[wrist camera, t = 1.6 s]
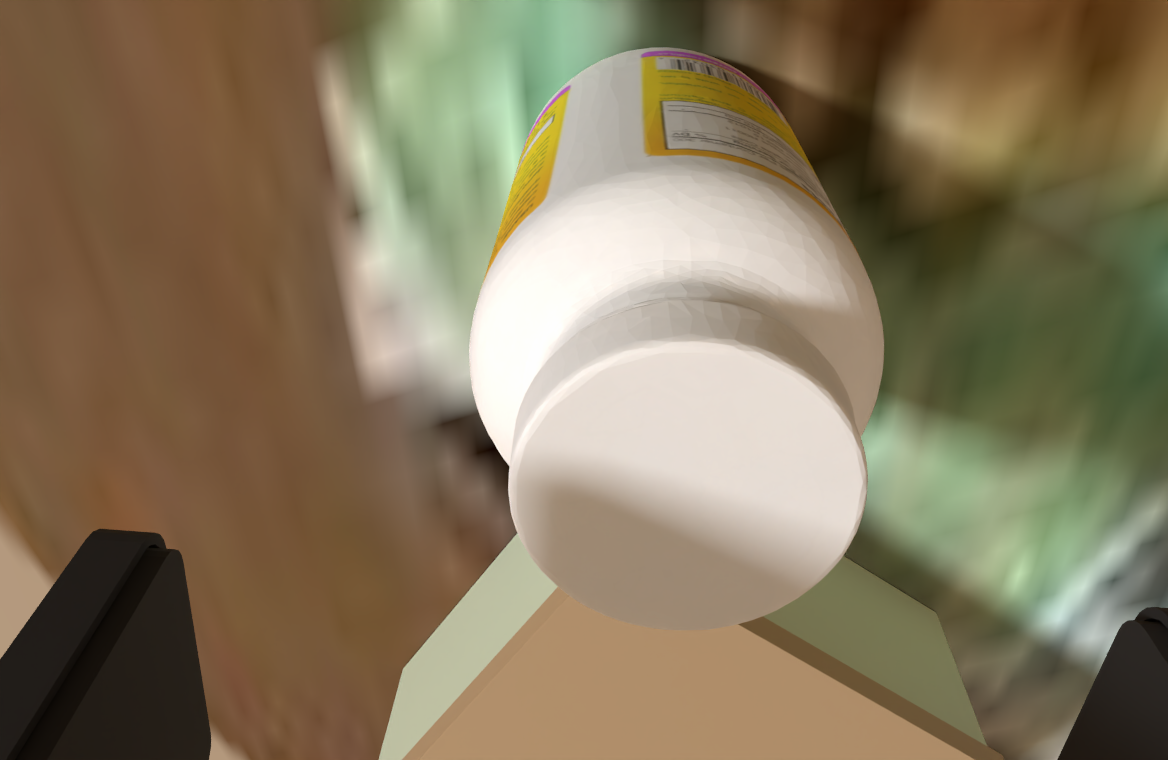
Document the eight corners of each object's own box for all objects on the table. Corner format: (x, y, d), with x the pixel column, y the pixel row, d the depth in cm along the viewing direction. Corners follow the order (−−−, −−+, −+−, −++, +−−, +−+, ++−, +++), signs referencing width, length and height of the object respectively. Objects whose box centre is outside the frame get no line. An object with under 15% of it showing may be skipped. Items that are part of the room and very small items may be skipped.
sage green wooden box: (945, 611, 30) (1012, 781, 25) (696, 820, 36) (707, 996, 30) (613, 407, 27) (609, 550, 22) (394, 669, 32) (348, 836, 27)
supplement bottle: (574, 337, 26) (531, 726, 15) (478, 96, 23) (335, 359, 12) (826, 262, 25) (984, 628, 14) (759, -3, 22) (892, 187, 11)
